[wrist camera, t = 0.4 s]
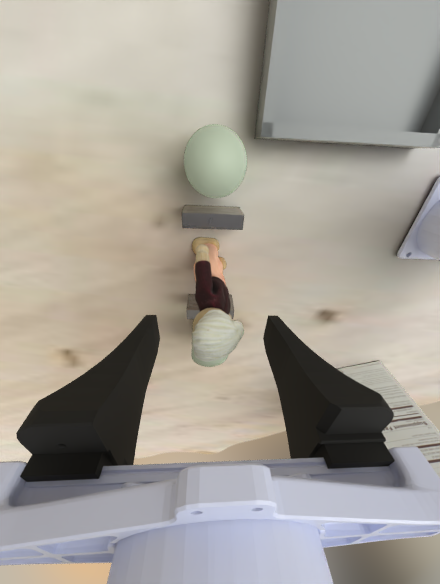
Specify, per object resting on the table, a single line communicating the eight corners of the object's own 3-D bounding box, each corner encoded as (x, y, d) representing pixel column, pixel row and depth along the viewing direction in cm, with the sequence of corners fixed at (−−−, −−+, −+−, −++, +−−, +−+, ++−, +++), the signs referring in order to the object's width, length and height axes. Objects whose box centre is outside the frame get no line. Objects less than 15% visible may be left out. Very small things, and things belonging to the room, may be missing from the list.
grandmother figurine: (175, 238, 21) (142, 325, 10) (208, 219, 20) (210, 293, 10) (212, 294, 25) (217, 399, 14) (242, 280, 24) (270, 380, 14)
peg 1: (225, 312, 27) (229, 342, 22) (223, 335, 29) (226, 366, 25) (193, 312, 26) (190, 342, 22) (194, 335, 28) (191, 367, 24)
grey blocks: (239, 207, 20) (244, 215, 17) (230, 302, 26) (233, 319, 23) (185, 205, 19) (181, 212, 17) (189, 302, 25) (187, 318, 23)
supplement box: (373, 392, 38) (469, 531, 24) (321, 401, 39) (385, 541, 25) (381, 358, 33) (509, 510, 19) (321, 370, 34) (401, 523, 20)
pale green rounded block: (239, 132, 17) (250, 126, 13) (235, 188, 19) (243, 199, 15) (188, 129, 16) (182, 122, 12) (190, 186, 19) (185, 196, 14)
